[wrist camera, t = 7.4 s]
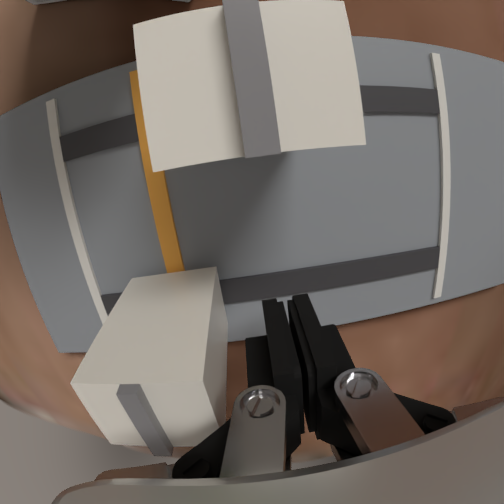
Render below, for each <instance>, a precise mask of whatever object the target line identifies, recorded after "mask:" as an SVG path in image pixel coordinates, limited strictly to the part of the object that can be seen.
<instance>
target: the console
mask: <svg viewBox="0 0 504 504" xmlns="http://www.w3.org/2000/svg"><path fill="white" fill-rule="evenodd" d="M351 38H352V43H353V48H354V54H355V60H356V66H357V72H358V79H359V86H360V93H361V101H362V109H363V118H364V127H365V138H366V145H354V146H339V147H327V148H315V149H304V150H295V151H285V152H281V154H275V155H267V156H259V157H251V158H245V157H238V158H232V159H225V160H219V161H212V162H206V163H201V164H195V165H189V166H184V167H178V168H173V169H168V170H163V171H158V172H153V170H152V164H151V159H150V153H149V147H148V141H147V135H146V129H145V123H144V116H143V109H142V102H141V95H140V87H139V79H138V71H137V62H136V61H134V62H130V63H127V64H124V65H120V66H117V67H114V68H111V69H108V70H105V71H102V72H99V73H96V74H93V75H90V76H87V77H85V78H82V79H79V80H77V81H74V82H71V83H69V84H66V85H64V86H62V87H59V88H57V89H54V90H52V91H50V92H48V93H45V94H43V95H41V96H39V97H36V98H34V99H32V100H30V101H28V102H26V103H24V104H22V105H20V106H18V107H16V108H14V109H12V110H10V111H8V112H6V113H5V114H3V115H1V116H0V192H1V196H2V201H3V205H4V209H5V213H6V217H7V220H8V224H9V228H10V231H11V235H12V238H13V241H14V244H15V248H16V251H17V254H18V257H19V260H20V263H21V266H22V268H23V271H24V274H25V277H26V279H27V282H28V285H29V287H30V290H31V292H32V295H33V297H34V300H35V302H36V304H37V307H38V309H39V311H40V314H41V316H42V318H43V320H44V323H45V325H46V327H47V329H48V331H49V333H50V335H51V337H52V339H53V342H54V344H55V346H56V348H57V349H58V351H59V353H67V352H87V351H88V350H89V348H90V346H91V344H92V343H93V341H94V339H95V338H96V336H97V334H98V332H99V331H100V329H101V327H102V326H103V324H104V322H105V321H106V319H107V317H108V316H109V314H110V312H111V311H112V309H113V307H114V306H115V304H116V302H117V301H118V299H119V298H120V296H121V294H122V293H123V291H124V290H125V288H126V286H127V285H128V283H129V282H130V280H131V279H132V278H136V277H143V276H151V275H158V274H165V273H173V272H180V271H187V270H194V269H202V268H209V267H217V272H218V277H219V282H220V287H221V292H222V297H223V302H224V307H225V312H226V316H227V321H228V339H227V342H232V341H240V340H245V339H246V338H249V337H256V336H263V335H266V328H265V321H264V314H263V307H262V300H267V299H274V298H276V299H277V302H280V301H283V304H284V307H285V311H286V315H287V318H288V322H289V317H288V306H287V300H292V296H293V295H300V294H306V293H307V294H308V296H309V298H310V301H311V303H312V305H313V308H314V310H315V312H316V315H317V317H318V320H319V322H320V324H321V326H325V325H330V324H335V325H341V324H346V323H351V322H356V321H361V320H365V319H370V318H375V317H379V316H384V315H388V314H393V313H397V312H401V311H406V310H410V309H414V308H418V307H422V306H426V305H430V304H434V303H438V302H441V301H445V300H449V299H452V298H456V297H460V296H463V295H467V294H470V293H473V292H477V291H480V290H483V289H487V288H490V287H493V286H496V285H499V284H503V283H504V62H502V61H498V60H495V59H491V58H488V57H484V56H481V55H477V54H473V53H469V52H465V51H460V50H456V49H451V48H446V47H441V46H436V45H430V44H424V43H418V42H411V41H403V40H395V39H385V38H374V37H359V36H351Z"/></svg>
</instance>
